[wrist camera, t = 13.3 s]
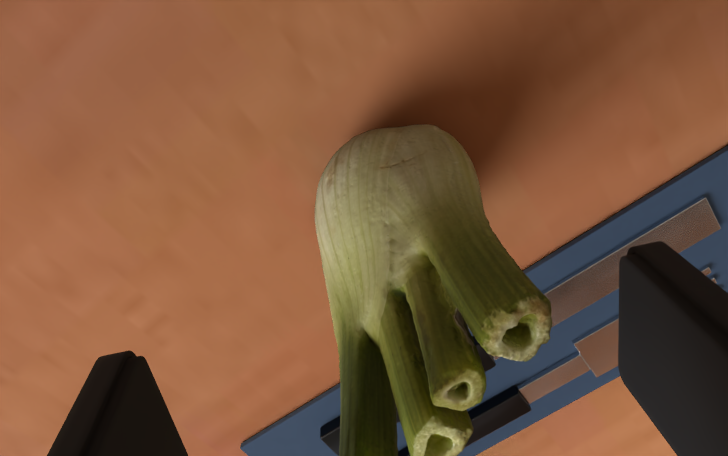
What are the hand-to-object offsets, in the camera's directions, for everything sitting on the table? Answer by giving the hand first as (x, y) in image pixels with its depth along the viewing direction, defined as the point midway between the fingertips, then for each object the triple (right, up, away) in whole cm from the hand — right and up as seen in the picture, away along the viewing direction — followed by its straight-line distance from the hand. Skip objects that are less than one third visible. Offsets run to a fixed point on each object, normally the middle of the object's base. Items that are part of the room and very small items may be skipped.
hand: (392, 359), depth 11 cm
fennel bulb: (0, +4, +10) cm, 11 cm away
